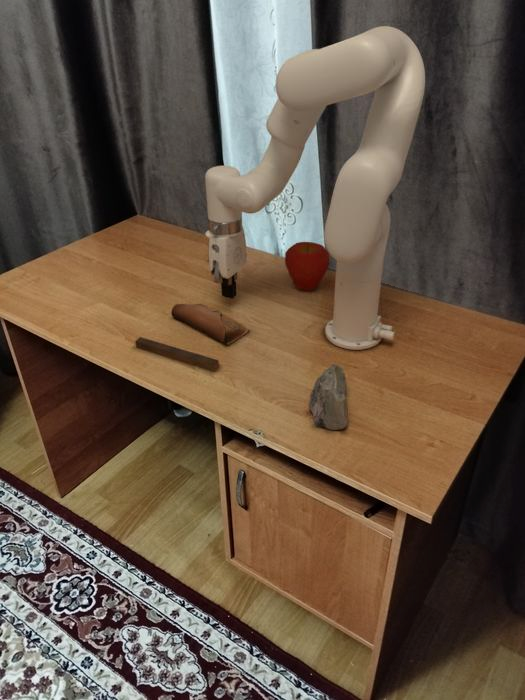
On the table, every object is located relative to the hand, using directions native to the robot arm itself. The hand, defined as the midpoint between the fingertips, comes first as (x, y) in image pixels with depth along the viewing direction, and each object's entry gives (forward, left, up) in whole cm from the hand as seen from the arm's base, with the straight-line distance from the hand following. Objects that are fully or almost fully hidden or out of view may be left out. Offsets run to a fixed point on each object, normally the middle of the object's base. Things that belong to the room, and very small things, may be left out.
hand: (229, 296), depth 138 cm
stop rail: (0, +23, -3) cm, 23 cm away
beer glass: (+16, -19, -3) cm, 25 cm away
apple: (-13, -16, -3) cm, 21 cm away
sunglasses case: (0, +9, -3) cm, 10 cm away
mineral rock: (-36, +24, -3) cm, 44 cm away
